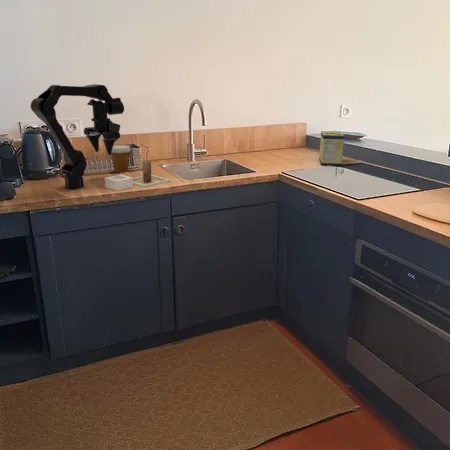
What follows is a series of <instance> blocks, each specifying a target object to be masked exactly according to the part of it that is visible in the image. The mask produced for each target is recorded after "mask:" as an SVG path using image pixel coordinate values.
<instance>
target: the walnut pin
mask: <svg viewBox="0 0 450 450" xmlns="http://www.w3.org/2000/svg"><path fill="white" fill-rule="evenodd" d="M151 175H152V161H149V160H143V161H142V176H143V178H142V179H143V180H142V182H143V183H146V184H150V183H152V177H151Z"/></svg>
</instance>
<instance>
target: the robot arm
mask: <svg viewBox="0 0 450 450" xmlns="http://www.w3.org/2000/svg"><path fill="white" fill-rule="evenodd" d="M62 96H69V97H86V98H90V100H89V101H88V102H87V106H92V118H90V119H91V122H93V126H88V127H87V126H86V127H85V128H84V129H83V134H84V136H85V137H86V138H87V139H88V141H89V142H90V144H91V146H92V148H93V149H94V151H95V152H96V153H98V152H99V149H100V147H99V146H100V145H99V144H100V143H99V142H100V141H99V139H100V137H101V136H102V137H103V139H102V142H103V144H104V147H105V150H106V154H107V155H108V156H112V155H111V152H112V148H113V146H115V145H114V144H115V142H116V141H118V140H119V139H120V138H121V133H120V130H121V124H119V123H115V122H113V120H111V118H110V117H108V115H109V116H114V115H115V116H116V115H122V114H123V113H124V112H125V106H124V103H123V101H122V100H121V97H114V98H113V97H112V95H111V94H110V92H109V90H108V88H107V86H106V85H103V84H97V83H93V84H86V85H83V86H78V85H77V86H75V85H74V86H73V85H60V84H51V85H50V86H49V87H48V88H47V89H46V90H44V91H43V92H42V93H40V94H39V95H38V96H37V97H36V98H34V99H32V101H31V102H30V109H31V111H32V112H33V114H34V115H35V116H36V117H37V118H38V119H40V120H41V121H42V122H43V123H44V124H45V126H46V127H47V129H48V131H49V132H50V133H51V136H52V138H53V139H54V141H55V142H56V144H57V145H58V147H59V148H60V150H61V152H62V154H63V161H64V164H63V166H62V167H61V168H60V172H61V174H62V175H63V177H64V186H65V189H67V190H78V189H81V188H83V187H84V186H85V185H84V177H83V176H84V174H85V171H86V168H87V164H88V162H87V158H86V157H85V155H84V153H83V152H82V151H83V150H78V149H75V148H74V146H73V145H72V143H71V141H70V139H69V137H68V136H67V135H66V132H65V131H64V129H63V128H62V126H61V124H60V122H59V121H58V119H57V112H56V109H55V107H56V106H57V104H58V102H59V101H60V98H61V97H62ZM95 99H97V100H95Z"/></svg>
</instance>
